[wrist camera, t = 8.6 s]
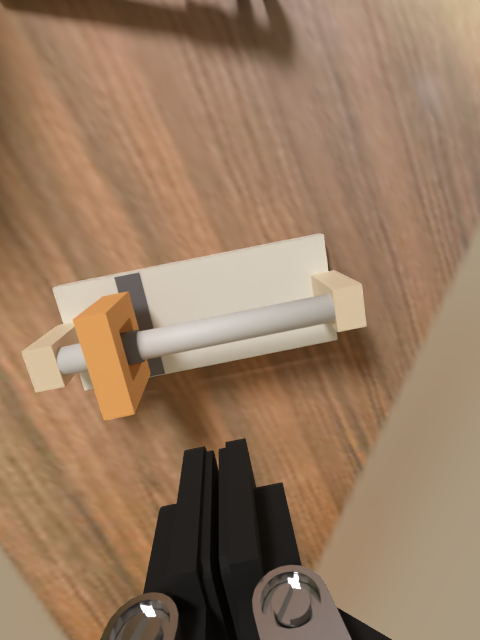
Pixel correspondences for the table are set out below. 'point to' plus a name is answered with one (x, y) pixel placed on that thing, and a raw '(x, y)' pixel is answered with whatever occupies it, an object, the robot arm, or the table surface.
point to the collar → (111, 355)
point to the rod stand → (208, 310)
